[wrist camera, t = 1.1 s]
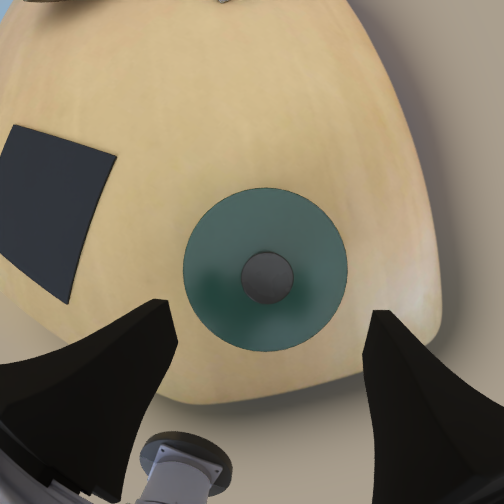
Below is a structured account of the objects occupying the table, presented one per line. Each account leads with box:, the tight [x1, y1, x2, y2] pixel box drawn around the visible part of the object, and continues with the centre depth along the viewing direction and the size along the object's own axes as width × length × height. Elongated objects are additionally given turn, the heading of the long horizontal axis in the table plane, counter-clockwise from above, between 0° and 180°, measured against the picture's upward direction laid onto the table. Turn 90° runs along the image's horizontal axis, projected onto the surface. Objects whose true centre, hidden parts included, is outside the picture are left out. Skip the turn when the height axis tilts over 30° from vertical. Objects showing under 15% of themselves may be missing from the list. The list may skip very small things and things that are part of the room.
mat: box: [0, 124, 117, 305], centre depth 24 cm, size 16×21×1 cm
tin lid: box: [183, 188, 348, 352], centre depth 16 cm, size 10×10×4 cm
